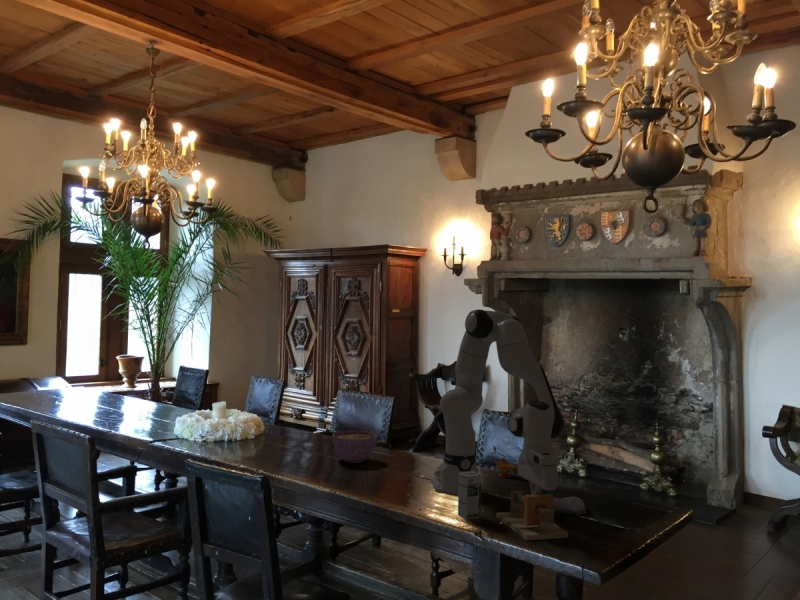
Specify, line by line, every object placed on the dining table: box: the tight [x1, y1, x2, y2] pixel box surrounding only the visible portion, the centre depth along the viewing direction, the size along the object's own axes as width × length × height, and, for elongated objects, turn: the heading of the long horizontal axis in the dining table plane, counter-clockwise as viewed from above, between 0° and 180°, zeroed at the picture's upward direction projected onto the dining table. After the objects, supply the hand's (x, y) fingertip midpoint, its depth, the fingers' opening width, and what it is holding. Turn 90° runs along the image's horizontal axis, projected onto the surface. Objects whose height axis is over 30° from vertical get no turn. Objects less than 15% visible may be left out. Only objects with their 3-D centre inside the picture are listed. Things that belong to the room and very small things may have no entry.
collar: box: [524, 493, 555, 526], centre depth 206 cm, size 2×9×9 cm, turn 106°
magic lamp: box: [491, 446, 518, 478], centre depth 273 cm, size 7×18×11 cm, turn 41°
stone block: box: [553, 496, 587, 516], centre depth 229 cm, size 12×5×10 cm
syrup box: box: [457, 471, 483, 521], centre depth 219 cm, size 6×6×14 cm
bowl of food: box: [331, 430, 378, 464], centre depth 290 cm, size 20×20×12 cm
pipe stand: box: [496, 489, 569, 541], centre depth 210 cm, size 22×14×8 cm, turn 16°
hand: (535, 497), depth 208 cm, fingers closed
